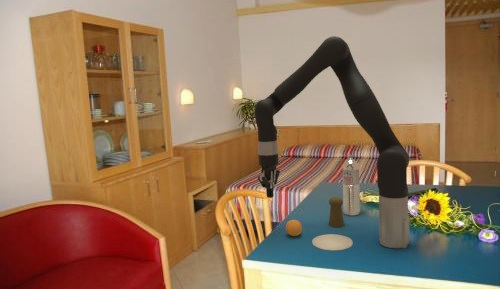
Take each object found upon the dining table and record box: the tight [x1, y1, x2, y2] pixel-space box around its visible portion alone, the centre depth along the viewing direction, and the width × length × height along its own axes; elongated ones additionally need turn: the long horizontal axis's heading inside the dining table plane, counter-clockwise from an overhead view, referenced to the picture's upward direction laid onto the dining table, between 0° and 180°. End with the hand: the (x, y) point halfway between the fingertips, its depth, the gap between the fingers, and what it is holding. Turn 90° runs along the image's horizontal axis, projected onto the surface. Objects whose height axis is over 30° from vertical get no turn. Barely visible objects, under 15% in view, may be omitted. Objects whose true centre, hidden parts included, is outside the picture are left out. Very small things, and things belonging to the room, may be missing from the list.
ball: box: [285, 219, 303, 237], centre depth 149 cm, size 6×6×6 cm
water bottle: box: [341, 154, 361, 217], centre depth 168 cm, size 7×7×25 cm
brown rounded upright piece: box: [328, 196, 345, 228], centre depth 158 cm, size 6×6×11 cm
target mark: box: [311, 233, 354, 252], centre depth 142 cm, size 14×14×1 cm
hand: (270, 197), depth 153 cm, fingers closed
